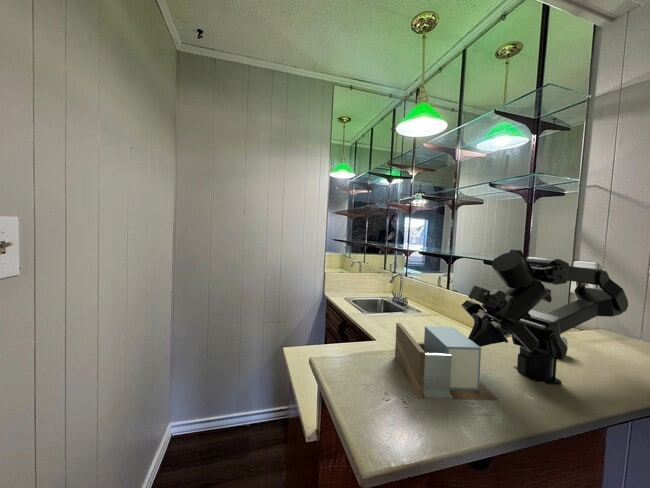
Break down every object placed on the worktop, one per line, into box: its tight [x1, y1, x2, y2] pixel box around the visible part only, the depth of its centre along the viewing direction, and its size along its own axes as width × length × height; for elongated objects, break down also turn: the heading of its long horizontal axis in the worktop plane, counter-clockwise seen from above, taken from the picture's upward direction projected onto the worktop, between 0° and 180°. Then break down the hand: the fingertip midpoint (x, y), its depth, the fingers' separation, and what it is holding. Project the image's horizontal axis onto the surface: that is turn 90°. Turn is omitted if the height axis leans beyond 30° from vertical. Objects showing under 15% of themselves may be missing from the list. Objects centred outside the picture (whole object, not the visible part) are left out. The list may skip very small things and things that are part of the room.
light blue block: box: [423, 325, 482, 391], centre depth 60 cm, size 7×12×9 cm, turn 0°
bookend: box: [423, 353, 454, 400], centre depth 52 cm, size 6×2×8 cm, turn 90°
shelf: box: [394, 322, 501, 401], centre depth 60 cm, size 16×17×10 cm
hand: (466, 347), depth 60 cm, fingers closed
